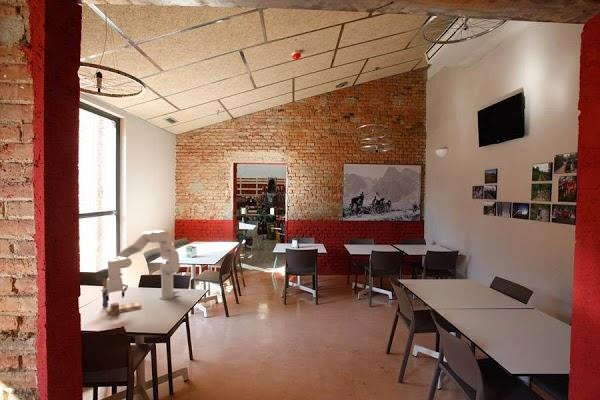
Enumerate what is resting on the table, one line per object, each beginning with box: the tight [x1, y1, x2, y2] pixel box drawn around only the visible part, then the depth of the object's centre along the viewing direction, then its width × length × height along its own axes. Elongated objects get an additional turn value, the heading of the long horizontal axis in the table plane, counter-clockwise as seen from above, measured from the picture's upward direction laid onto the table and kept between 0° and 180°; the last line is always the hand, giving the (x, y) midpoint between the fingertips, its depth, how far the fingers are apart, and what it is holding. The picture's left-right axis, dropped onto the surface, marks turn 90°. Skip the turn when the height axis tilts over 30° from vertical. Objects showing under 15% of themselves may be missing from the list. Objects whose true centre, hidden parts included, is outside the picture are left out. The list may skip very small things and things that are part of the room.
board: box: [105, 301, 142, 316], centre depth 249 cm, size 23×10×3 cm, turn 126°
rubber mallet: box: [94, 268, 109, 308], centre depth 255 cm, size 12×8×30 cm, turn 167°
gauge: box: [110, 302, 120, 317], centre depth 242 cm, size 5×14×8 cm, turn 36°
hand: (115, 298), depth 239 cm, fingers open, 9 cm apart
